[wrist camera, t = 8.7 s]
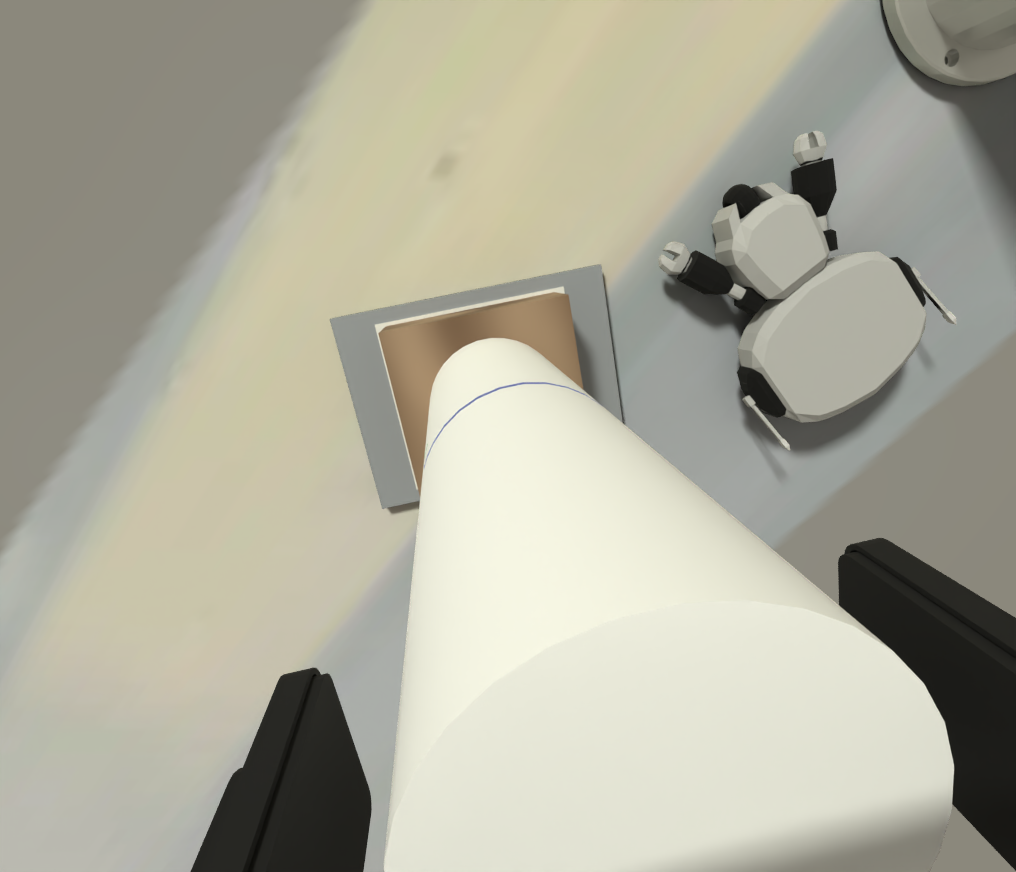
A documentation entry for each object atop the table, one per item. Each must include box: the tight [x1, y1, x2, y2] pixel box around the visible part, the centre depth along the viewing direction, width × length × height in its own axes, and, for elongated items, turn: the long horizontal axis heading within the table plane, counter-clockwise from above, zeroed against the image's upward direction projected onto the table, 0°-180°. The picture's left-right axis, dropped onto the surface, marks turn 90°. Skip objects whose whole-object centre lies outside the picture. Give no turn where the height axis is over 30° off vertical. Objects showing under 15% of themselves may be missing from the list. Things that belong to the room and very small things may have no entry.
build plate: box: [330, 265, 623, 509], centre depth 35 cm, size 16×12×1 cm
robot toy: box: [658, 131, 956, 451], centre depth 34 cm, size 12×4×15 cm
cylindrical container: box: [384, 338, 954, 872], centre depth 19 cm, size 7×7×25 cm
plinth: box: [378, 292, 583, 496], centre depth 33 cm, size 10×10×4 cm
